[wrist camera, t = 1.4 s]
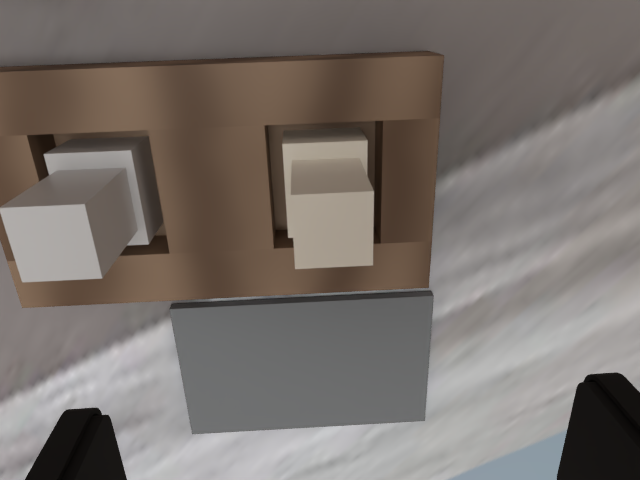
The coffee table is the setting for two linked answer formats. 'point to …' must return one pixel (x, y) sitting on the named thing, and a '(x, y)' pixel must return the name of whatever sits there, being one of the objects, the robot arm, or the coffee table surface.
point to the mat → (304, 361)
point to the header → (233, 166)
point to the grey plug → (84, 209)
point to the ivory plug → (328, 197)
